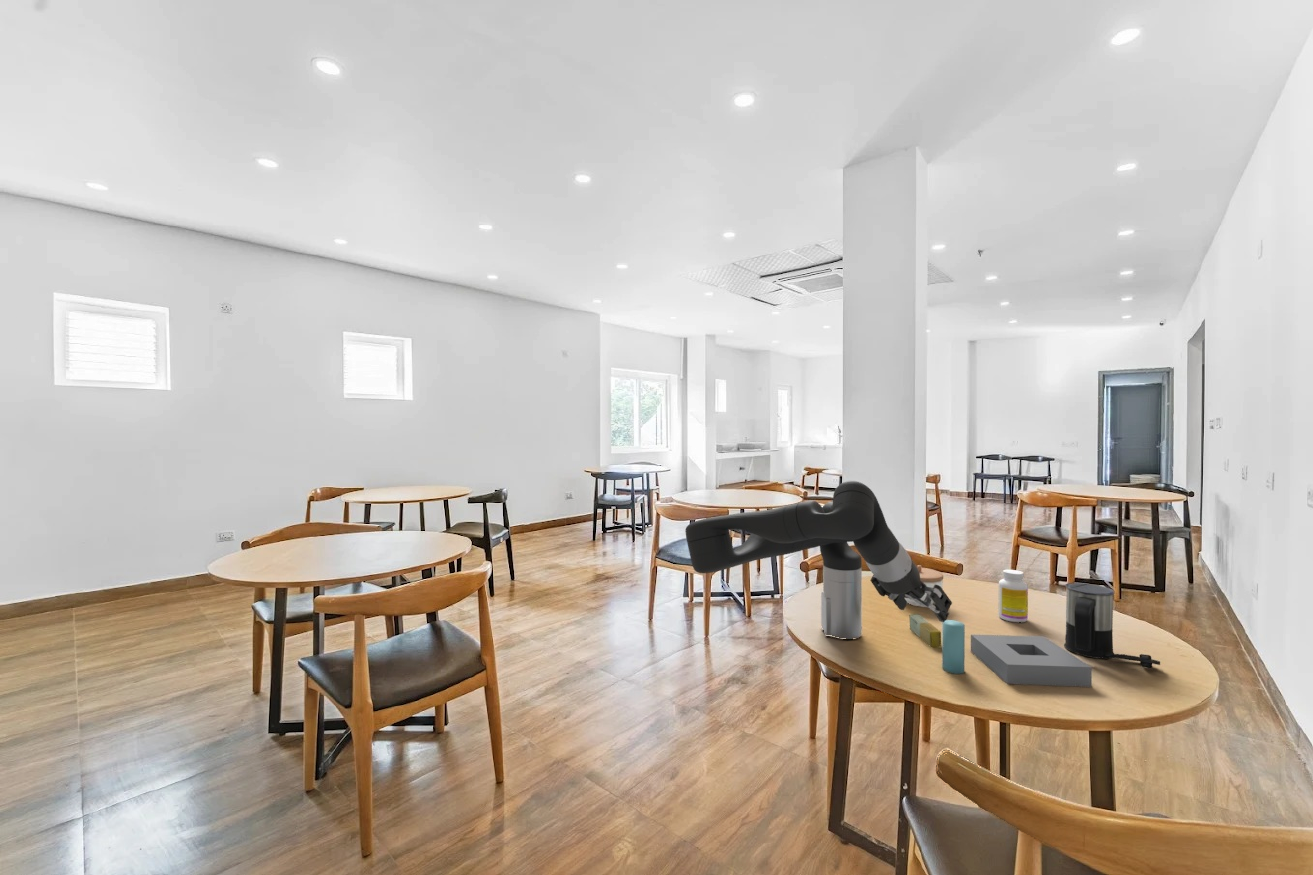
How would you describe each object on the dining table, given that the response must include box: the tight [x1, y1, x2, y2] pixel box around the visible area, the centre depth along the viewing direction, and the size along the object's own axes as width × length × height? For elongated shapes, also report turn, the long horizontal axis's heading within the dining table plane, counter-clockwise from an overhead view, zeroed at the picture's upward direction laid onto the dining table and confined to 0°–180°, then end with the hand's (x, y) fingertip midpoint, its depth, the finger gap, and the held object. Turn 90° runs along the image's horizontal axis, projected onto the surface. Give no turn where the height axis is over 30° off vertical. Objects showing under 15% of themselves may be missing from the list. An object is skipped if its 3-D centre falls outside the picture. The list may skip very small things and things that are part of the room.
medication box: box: [908, 613, 942, 648], centre depth 137 cm, size 12×3×4 cm, turn 179°
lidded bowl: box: [905, 564, 944, 608], centre depth 163 cm, size 13×13×11 cm
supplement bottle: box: [997, 569, 1029, 623], centre depth 149 cm, size 7×7×13 cm
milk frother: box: [1063, 582, 1161, 669], centre depth 125 cm, size 14×16×15 cm
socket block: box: [970, 634, 1093, 688], centre depth 120 cm, size 16×16×4 cm
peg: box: [941, 619, 966, 675], centre depth 119 cm, size 4×4×10 cm
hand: (923, 612), depth 113 cm, fingers open, 8 cm apart
